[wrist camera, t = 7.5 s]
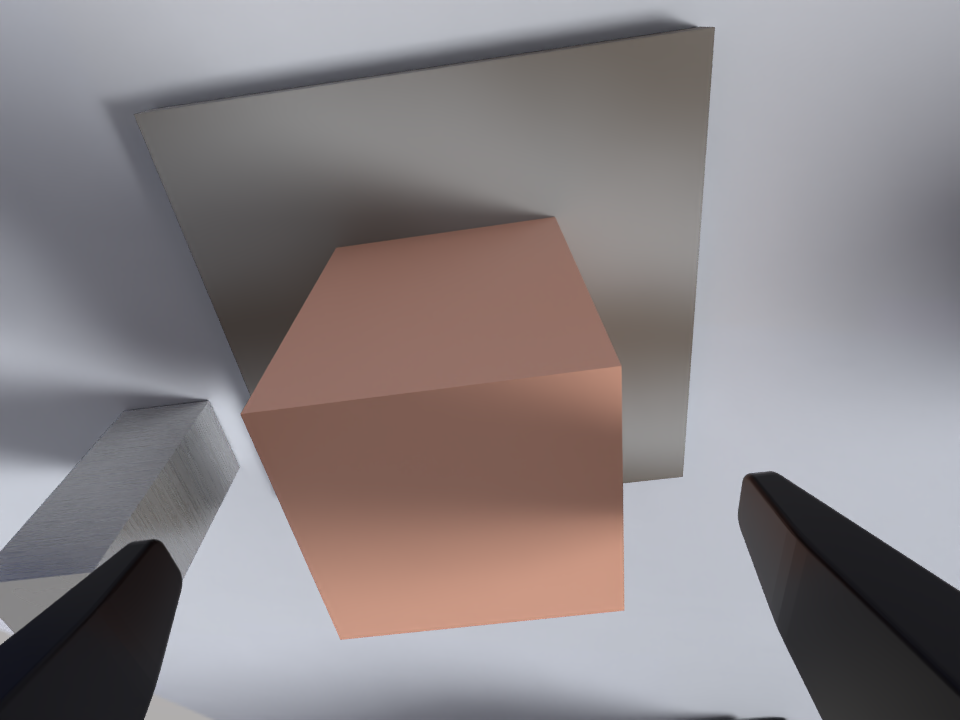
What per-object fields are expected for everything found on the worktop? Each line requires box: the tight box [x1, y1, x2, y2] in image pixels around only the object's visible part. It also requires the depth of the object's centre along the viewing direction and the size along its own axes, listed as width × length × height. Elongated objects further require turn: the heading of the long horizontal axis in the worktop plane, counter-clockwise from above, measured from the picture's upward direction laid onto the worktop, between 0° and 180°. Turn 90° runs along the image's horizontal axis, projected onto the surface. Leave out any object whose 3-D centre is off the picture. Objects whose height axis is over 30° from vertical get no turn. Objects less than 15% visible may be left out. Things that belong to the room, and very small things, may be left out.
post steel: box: [0, 401, 240, 633], centre depth 15 cm, size 3×3×6 cm
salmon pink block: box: [241, 217, 624, 640], centre depth 12 cm, size 5×5×7 cm
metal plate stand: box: [134, 27, 715, 483], centre depth 13 cm, size 12×12×6 cm
